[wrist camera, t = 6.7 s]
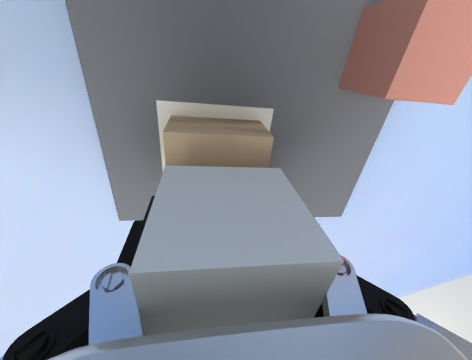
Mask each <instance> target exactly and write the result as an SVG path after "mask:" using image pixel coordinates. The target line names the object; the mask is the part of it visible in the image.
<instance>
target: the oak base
mask: <svg viewBox="0 0 472 360" xmlns="http://www.w3.org/2000/svg"><path fill="white" fill-rule="evenodd" d="M273 140H274V137H273V135H272V134H271V133H270V132H269V131H268V130H267V128H266V127H265V126H264V125H263V124H262V123H261V121H258V120H241V119H225V118H209V117H193V116H177V115H171V116H170V118H169V120H168V122H167V124H166V126H165V128H164V130H163V141H164V153H165V165H169V166H210V167H252V168H268V166H269V161H270V156H271V151H272V145H273Z"/></svg>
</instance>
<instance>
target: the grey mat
mask: <svg viewBox="0 0 472 360" xmlns="http://www.w3.org/2000/svg"><path fill="white" fill-rule="evenodd" d="M383 1H387V0H65V2H66V6H67V10H68V14H69V18H70V22H71V27H72V31H73V35H74V39H75V43H76V47H77V51H78V55H79V59H80V63H81V67H82V71H83V75H84V79H85V83H86V87H87V92H88V96H89V100H90V104H91V108H92V112H93V116H94V120H95V124H96V128H97V132H98V136H99V140H100V144H101V148H102V152H103V156H104V161H105V165H106V169H107V173H108V177H109V181H110V185H111V189H112V193H113V197H114V201H115V205H116V209H117V213H118V217H119V221H124V220H144V217H145V214H146V211H147V208H148V206H149V203H150V200H151V197H152V196H155V194H156V192H157V189H158V186H159V183H160V180H161V177H162V174H163V171H164V168H165V153H164V141H163V130H164V128H165V126H166V124H167V122H168V120H169V118H170V116H171V115H177V116H193V117H209V118H225V119H241V120H258V121H261V123H262V124H263V125H264V126H265V127H266V128H267V130H268V131H269V132H270V133H271V134H272V135H273V137H274V140H273V145H272V151H271V156H270V161H269V166H268V168H281V170H282V171H283V173H284V174H285V176H286V177H287V179H288V180H289V181H290V183H291V184H292V186H293V187H294V189H295V190H296V192H297V193H298V195H299V196H300V198H301V199H302V200H303V202H304V203H305V205H306V206H307V208H308V209H309V211H310V212H311V214H312V215H313V216H314V217H339V216H341V215H342V213H343V211H344V209H345V207H346V205H347V202H348V200H349V198H350V196H351V194H352V191H353V189H354V187H355V185H356V183H357V180H358V178H359V176H360V174H361V172H362V170H363V167H364V165H365V163H366V161H367V159H368V156H369V154H370V152H371V150H372V148H373V145H374V143H375V141H376V139H377V137H378V135H379V132H380V130H381V128H382V126H383V124H384V121H385V119H386V117H387V115H388V113H389V110H390V108H391V106H392V104H393V102H394V100H392V99H384V98H380V97H376V96H372V95H367V94H363V93H359V92H355V91H351V90H347V89H343V88H339V84H340V81H341V77H342V74H343V71H344V68H345V65H346V62H347V59H348V55H349V52H350V49H351V46H352V43H353V40H354V37H355V33H356V30H357V27H358V24H359V21H360V18H361V15H362V11H363V8H364V7H366V6H369V5H373V4H376V3H380V2H383Z"/></svg>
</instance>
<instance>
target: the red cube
mask: <svg viewBox="0 0 472 360" xmlns="http://www.w3.org/2000/svg"><path fill="white" fill-rule="evenodd" d="M471 75H472V0H387V1H383V2H380V3H376V4H373V5H369V6H366V7H364V8H363V11H362V15H361V18H360V21H359V24H358V27H357V30H356V33H355V37H354V40H353V43H352V46H351V49H350V52H349V55H348V59H347V62H346V65H345V68H344V71H343V74H342V77H341V81H340V84H339V88H343V89H347V90H351V91H355V92H359V93H363V94H367V95H372V96H376V97H380V98H384V99H392V100H404V101H415V102H426V103H437V104H448V105H454V103H455V101H456V100H457V98H458V96H459V95H460V93H461V91H462V90H463V88H464V86H465V85H466V83H467V81H468V80H469V78H470V76H471Z"/></svg>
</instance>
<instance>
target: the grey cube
mask: <svg viewBox="0 0 472 360" xmlns="http://www.w3.org/2000/svg"><path fill="white" fill-rule="evenodd" d="M343 262H344V260H343V259H342V257H341V256H340V254H339V253H338V252H337V250H336V249H335V247H334V246H333V244H332V243H331V241H330V240H329V238H328V237H327V235H326V234H325V233H324V231H323V230H322V228H321V227H320V225H319V224H318V222H317V221H316V219H315V218H314V216H313V215H312V214H311V212H310V211H309V209H308V208H307V206H306V205H305V203H304V202H303V200H302V199H301V198H300V196H299V195H298V193H297V192H296V190H295V189H294V187H293V186H292V184H291V183H290V181H289V180H288V179H287V177H286V176H285V174H284V173H283V171H282V170H281V168H252V167H210V166H169V165H165V168H164V171H163V174H162V177H161V180H160V183H159V186H158V189H157V192H156V194H155V197H154V200H153V203H152V206H151V209H150V212H149V215H148V218H147V221H146V224H145V227H144V230H143V233H142V236H141V239H140V242H139V245H138V248H137V251H136V254H135V257H134V259H133V262H132V265H131V268H130V271H129V276H130V280H131V284H132V288H133V292H134V295H135V299H136V303H137V307H138V308H139V312H140V316H141V322H142V327H143V331H144V335H145V336H147V335H155V334H163V333H172V332H181V331H191V330H200V329H209V328H218V327H228V326H237V325H247V324H257V323H266V322H276V321H286V320H296V319H307V318H314V316H315V314H316V312H317V311H318V309H319V307H320V305H321V303H322V300H323V298H324V297H325V295H326V293H327V292H328V290H329V288H330V286H331V284H332V283H333V281H334V279H335V277H336V275H337V273H338V271H339V270H340V268H341V266H342V264H343Z"/></svg>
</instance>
